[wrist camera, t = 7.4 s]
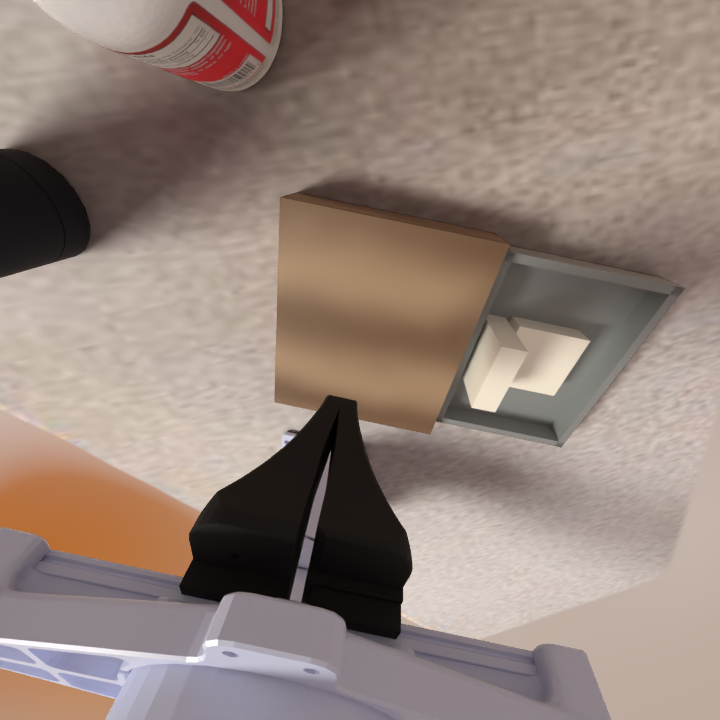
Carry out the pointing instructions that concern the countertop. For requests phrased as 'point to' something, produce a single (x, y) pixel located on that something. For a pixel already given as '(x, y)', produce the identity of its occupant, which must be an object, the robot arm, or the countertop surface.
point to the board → (376, 307)
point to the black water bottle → (37, 214)
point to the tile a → (493, 363)
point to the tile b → (546, 354)
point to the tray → (572, 310)
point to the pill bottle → (182, 35)
